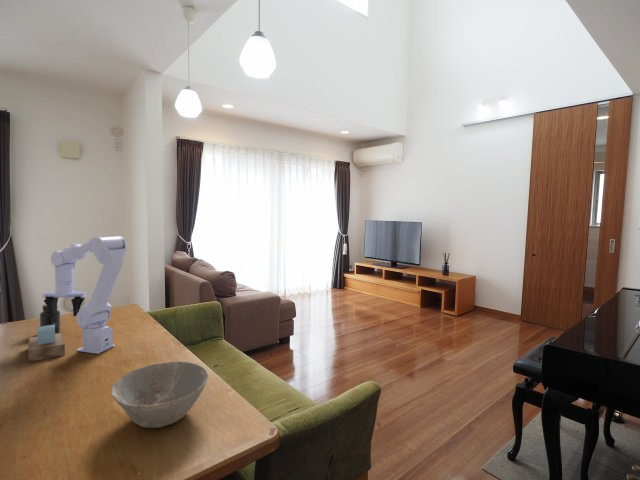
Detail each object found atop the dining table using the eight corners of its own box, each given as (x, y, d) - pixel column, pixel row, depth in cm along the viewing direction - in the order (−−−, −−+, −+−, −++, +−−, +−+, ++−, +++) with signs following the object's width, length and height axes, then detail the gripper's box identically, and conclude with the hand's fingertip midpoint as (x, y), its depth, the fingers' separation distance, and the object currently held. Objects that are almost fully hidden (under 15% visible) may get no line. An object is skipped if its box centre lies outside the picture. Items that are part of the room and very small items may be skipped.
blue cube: (55, 337, 128) (54, 324, 128) (55, 342, 124) (54, 328, 124) (37, 340, 125) (37, 327, 124) (37, 344, 121) (36, 331, 120)
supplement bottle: (51, 336, 140) (51, 307, 139) (35, 335, 140) (34, 306, 139) (64, 330, 147) (64, 303, 146) (49, 329, 147) (48, 302, 146)
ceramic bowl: (179, 386, 104) (179, 354, 103) (224, 416, 90) (225, 379, 89) (96, 418, 87) (96, 380, 86) (136, 462, 72) (135, 417, 72)
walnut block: (63, 342, 134) (62, 332, 133) (64, 354, 123) (64, 344, 122) (29, 348, 127) (29, 337, 127) (28, 361, 116) (27, 350, 116)
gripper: (36, 283, 128) (37, 319, 129) (79, 283, 130) (80, 318, 131) (48, 279, 135) (49, 313, 136) (88, 279, 137) (89, 313, 138)
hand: (65, 315), depth 134 cm, fingers open, 7 cm apart
